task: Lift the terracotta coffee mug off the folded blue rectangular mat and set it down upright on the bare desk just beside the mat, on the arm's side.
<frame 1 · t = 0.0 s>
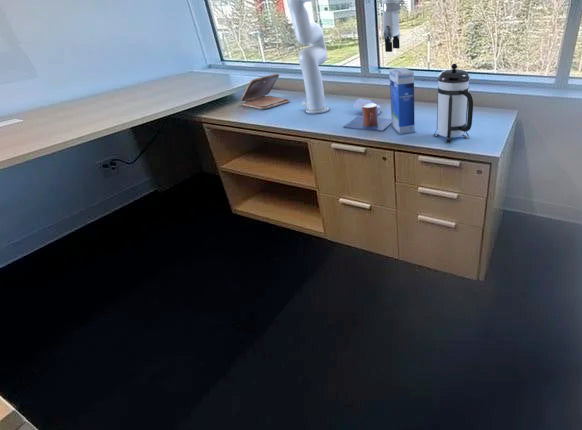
hand: (392, 50, 175), 31 cm above the table, tool pointing down, fingers open, 9 cm apart
coffee press: (453, 137, 163), on the table
blue rectangular mat: (369, 123, 183), on the table
case: (266, 104, 221), on the table
mug: (370, 124, 182), resting on blue rectangular mat
wedge on round base: (368, 112, 199), on the table
string lights box: (402, 129, 175), on the table
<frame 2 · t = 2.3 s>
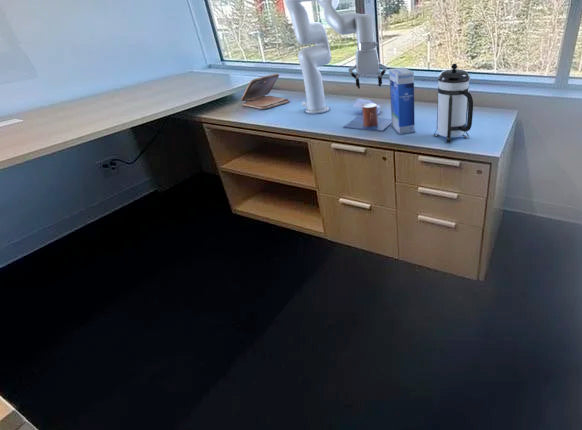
hand: (369, 87, 173), 18 cm above the table, tool pointing down, fingers open, 9 cm apart
nothing on the table moved.
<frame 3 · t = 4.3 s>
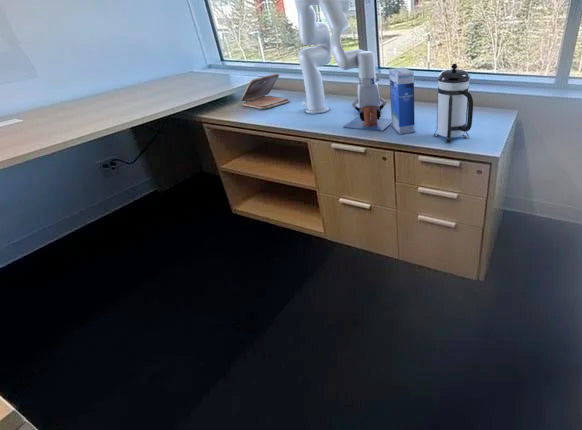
hand: (370, 119, 181), 3 cm above the table, tool pointing down, fingers closed on mug, 7 cm apart
mug: (370, 124, 182), resting on blue rectangular mat, touching gripper
everything else where it was.
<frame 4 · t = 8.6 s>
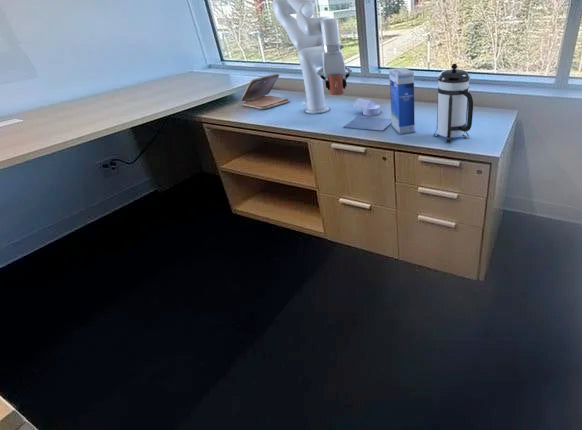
hand: (336, 88, 181), 16 cm above the table, tool pointing down, fingers closed on mug, 7 cm apart
mug: (337, 93, 182), point 13 cm above the table, touching gripper
everything else where it was.
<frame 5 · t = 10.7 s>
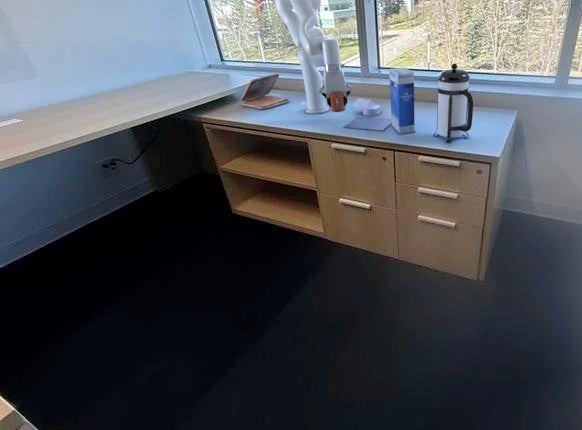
hand: (337, 105, 185), 8 cm above the table, tool pointing down, fingers closed on mug, 7 cm apart
mug: (338, 110, 186), point 5 cm above the table, touching gripper
everything else where it was.
when the fingers open (2 cm above the table, at t = 12.7 s): mug stays where it is, on the table.
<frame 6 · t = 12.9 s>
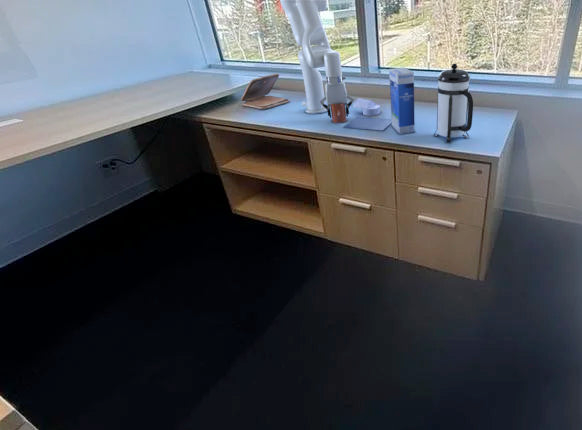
hand: (338, 116, 188), 2 cm above the table, tool pointing down, fingers open, 7 cm apart
mug: (339, 120, 189), on the table
everything else where it was.
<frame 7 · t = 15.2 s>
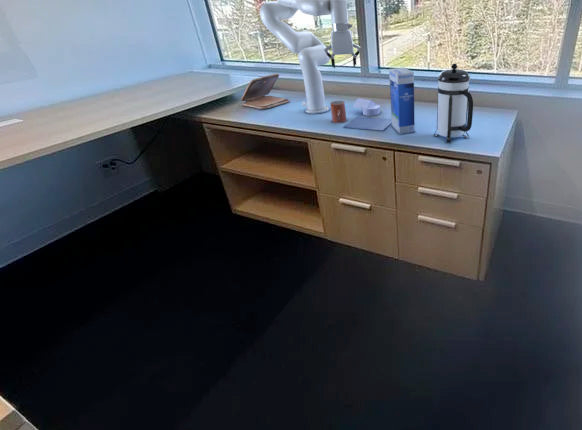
hand: (344, 66, 182), 24 cm above the table, tool pointing down, fingers open, 9 cm apart
nothing on the table moved.
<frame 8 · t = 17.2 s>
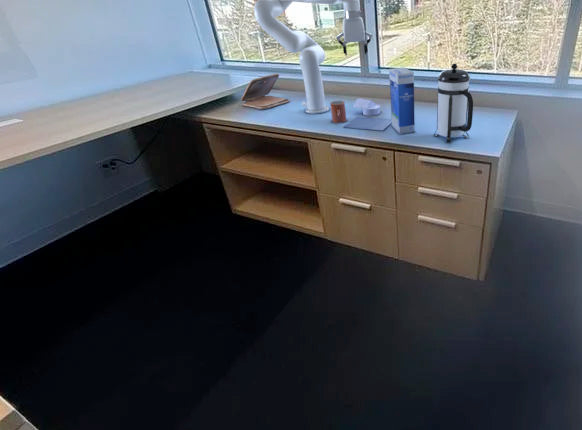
hand: (355, 54, 186), 28 cm above the table, tool pointing down, fingers open, 9 cm apart
nothing on the table moved.
at the end: mug touching table; mug inside the target area (0.1 cm from its centre), on the table; mug tilted 0° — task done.
